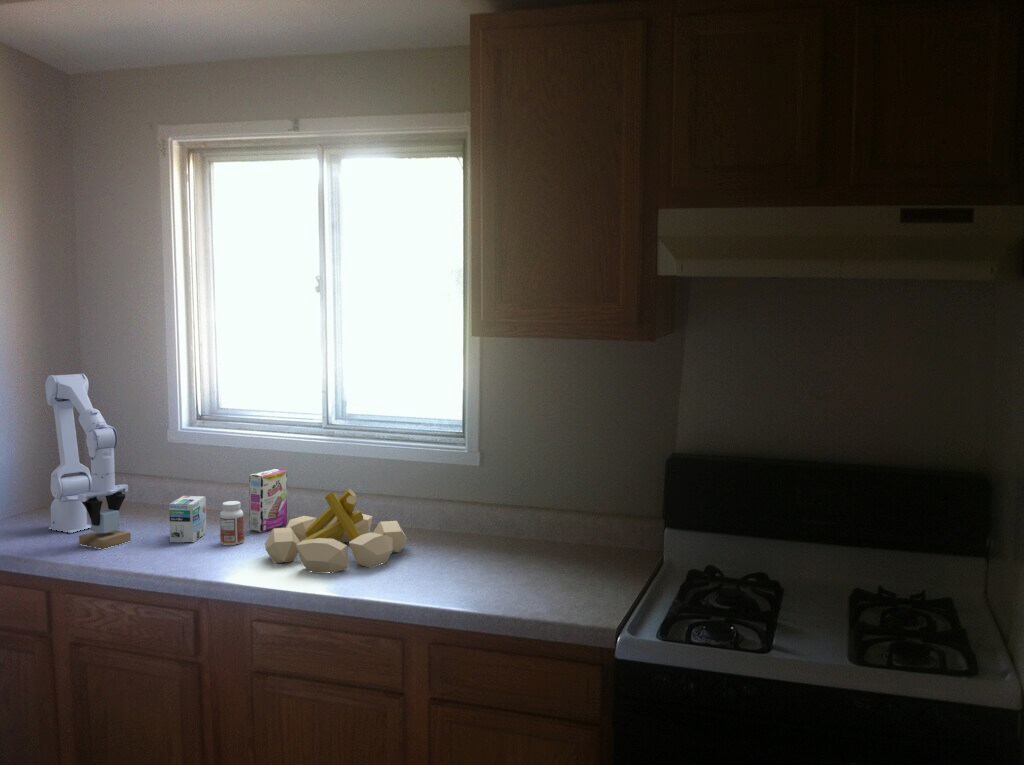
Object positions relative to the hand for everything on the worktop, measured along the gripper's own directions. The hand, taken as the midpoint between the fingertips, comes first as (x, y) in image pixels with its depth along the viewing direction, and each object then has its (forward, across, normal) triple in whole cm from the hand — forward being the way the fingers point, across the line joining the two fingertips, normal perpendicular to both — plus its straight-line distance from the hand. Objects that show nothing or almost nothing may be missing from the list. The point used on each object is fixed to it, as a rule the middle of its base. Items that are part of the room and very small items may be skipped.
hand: (104, 522), depth 253 cm
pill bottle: (+6, +17, -29) cm, 34 cm away
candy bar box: (+6, +34, -27) cm, 44 cm away
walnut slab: (+6, 0, 0) cm, 6 cm away
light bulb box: (+6, +15, -15) cm, 22 cm away
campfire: (+6, +22, -60) cm, 64 cm away
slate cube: (+2, 0, 0) cm, 2 cm away
